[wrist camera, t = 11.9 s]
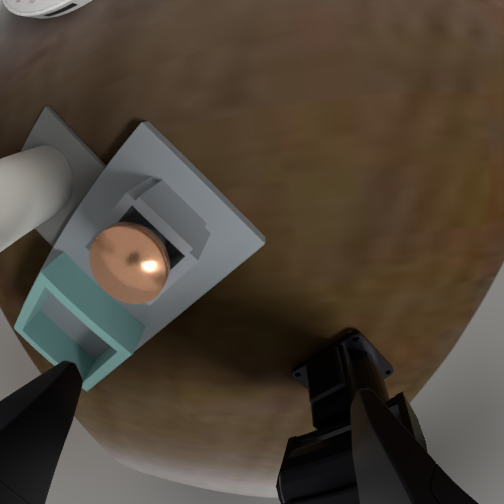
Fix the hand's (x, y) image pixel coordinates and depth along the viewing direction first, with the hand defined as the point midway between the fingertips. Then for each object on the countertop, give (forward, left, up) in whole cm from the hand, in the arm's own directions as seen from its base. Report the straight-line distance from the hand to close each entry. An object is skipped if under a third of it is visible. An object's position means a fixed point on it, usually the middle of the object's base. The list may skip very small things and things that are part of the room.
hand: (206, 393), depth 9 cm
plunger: (+4, +3, -11) cm, 12 cm away
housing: (+4, +9, -12) cm, 15 cm away
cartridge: (+12, +7, -12) cm, 18 cm away
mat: (+12, +7, -12) cm, 19 cm away
